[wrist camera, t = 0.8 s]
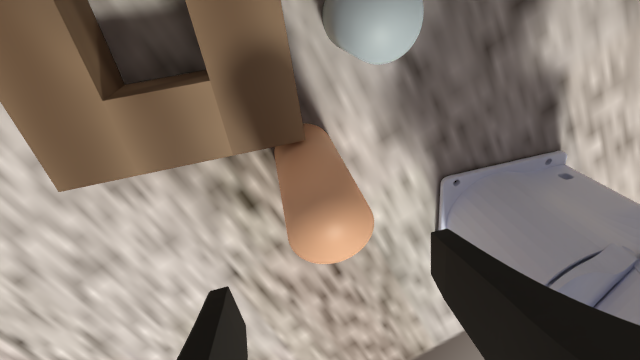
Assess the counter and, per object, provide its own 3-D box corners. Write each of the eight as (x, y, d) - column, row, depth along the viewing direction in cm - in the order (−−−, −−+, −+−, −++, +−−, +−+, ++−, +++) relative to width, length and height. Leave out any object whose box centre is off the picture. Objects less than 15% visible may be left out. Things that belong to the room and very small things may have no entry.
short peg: (387, -32, 17) (424, -39, 13) (390, 45, 18) (423, 56, 15) (317, -20, 16) (336, -24, 13) (327, 57, 18) (345, 71, 15)
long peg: (328, 117, 20) (371, 183, 13) (335, 170, 22) (376, 252, 15) (268, 130, 19) (279, 204, 13) (280, 182, 21) (296, 272, 14)
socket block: (245, -160, 13) (245, -197, 11) (298, 120, 19) (305, 140, 17) (-77, -120, 12) (-162, -151, 10) (85, 164, 18) (58, 192, 16)
